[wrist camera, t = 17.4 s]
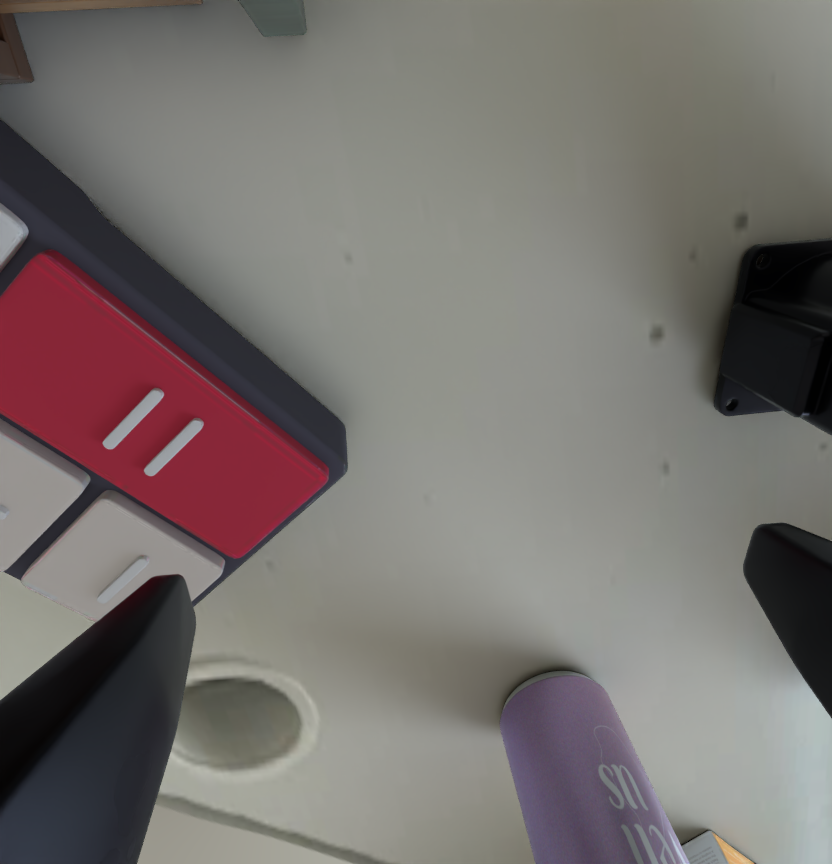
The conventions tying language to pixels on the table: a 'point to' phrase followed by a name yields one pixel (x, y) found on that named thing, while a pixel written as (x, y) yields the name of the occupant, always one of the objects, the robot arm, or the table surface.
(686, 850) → the small box
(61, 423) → the calculator
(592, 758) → the beverage can
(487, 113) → the table surface
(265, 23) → the drawer
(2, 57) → the cabinet
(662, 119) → the table surface
